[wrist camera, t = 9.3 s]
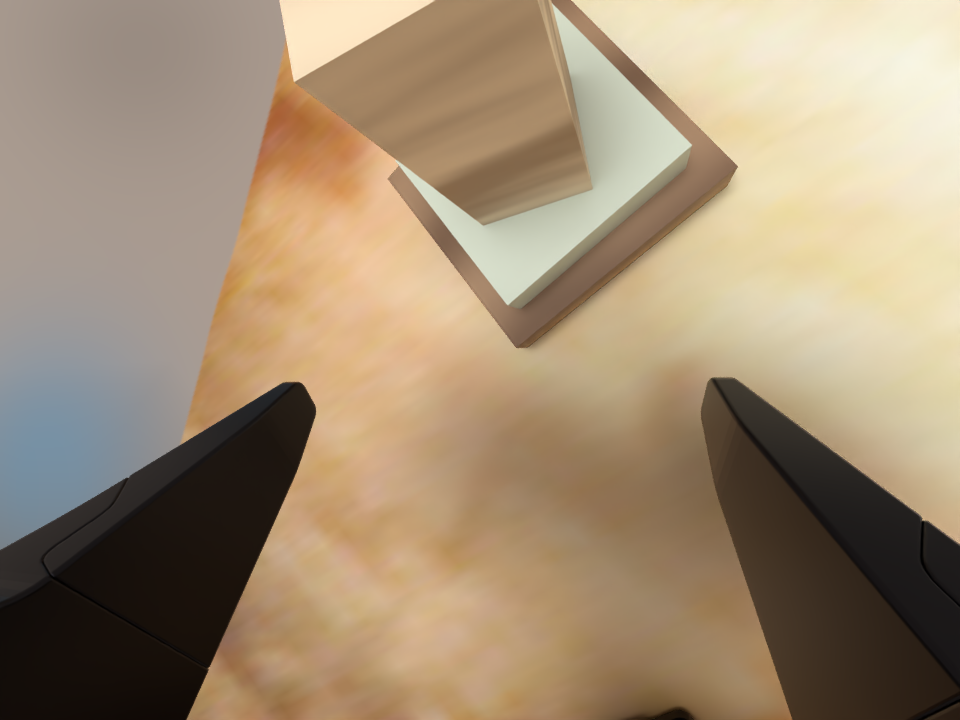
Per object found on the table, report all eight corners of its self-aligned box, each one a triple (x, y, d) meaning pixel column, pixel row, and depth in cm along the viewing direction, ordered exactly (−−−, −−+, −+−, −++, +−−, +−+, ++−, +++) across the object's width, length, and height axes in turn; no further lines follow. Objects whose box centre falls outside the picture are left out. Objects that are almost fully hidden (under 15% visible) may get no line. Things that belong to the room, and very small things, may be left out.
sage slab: (685, 168, 16) (692, 145, 14) (520, 309, 19) (507, 305, 17) (552, 30, 18) (541, -7, 16) (417, 177, 20) (395, 160, 18)
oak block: (592, 189, 15) (522, -50, 6) (483, 225, 17) (293, 81, 8) (569, 74, 15) (466, -334, 6) (463, 121, 17) (253, -145, 8)
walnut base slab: (726, 185, 17) (737, 166, 15) (527, 347, 21) (516, 347, 19) (565, 21, 19) (557, -14, 17) (408, 192, 23) (387, 178, 21)
